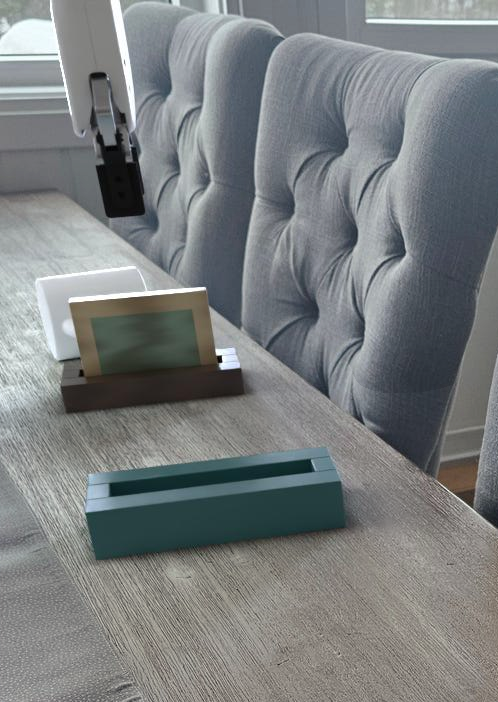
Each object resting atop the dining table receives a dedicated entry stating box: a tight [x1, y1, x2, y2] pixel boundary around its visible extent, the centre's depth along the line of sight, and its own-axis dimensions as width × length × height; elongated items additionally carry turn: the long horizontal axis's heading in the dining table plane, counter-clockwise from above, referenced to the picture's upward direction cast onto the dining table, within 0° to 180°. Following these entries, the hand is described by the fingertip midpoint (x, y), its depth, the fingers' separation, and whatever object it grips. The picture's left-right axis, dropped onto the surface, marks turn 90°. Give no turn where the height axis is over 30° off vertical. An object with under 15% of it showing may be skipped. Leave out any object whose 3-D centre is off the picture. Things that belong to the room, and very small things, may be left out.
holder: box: [84, 445, 347, 561], centre depth 79 cm, size 17×7×4 cm, turn 105°
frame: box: [69, 286, 218, 377], centre depth 103 cm, size 12×1×9 cm, turn 105°
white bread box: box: [34, 265, 148, 361], centre depth 114 cm, size 12×10×8 cm
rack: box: [59, 346, 246, 414], centre depth 105 cm, size 16×7×2 cm, turn 105°
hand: (126, 206), depth 97 cm, fingers open, 9 cm apart
